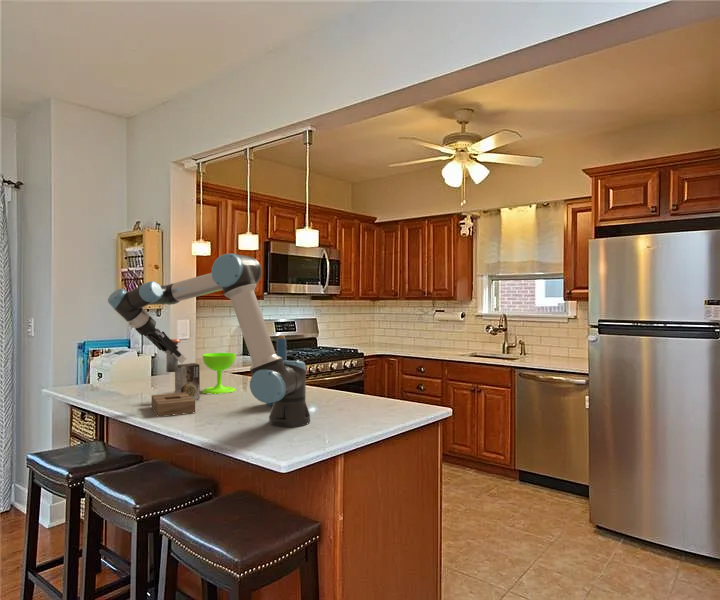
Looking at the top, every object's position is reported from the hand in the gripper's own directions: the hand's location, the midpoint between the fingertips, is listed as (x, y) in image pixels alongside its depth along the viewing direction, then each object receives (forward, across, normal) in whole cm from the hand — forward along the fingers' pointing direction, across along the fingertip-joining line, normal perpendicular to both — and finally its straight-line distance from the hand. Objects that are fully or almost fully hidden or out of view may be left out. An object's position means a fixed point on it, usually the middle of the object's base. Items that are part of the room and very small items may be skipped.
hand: (180, 360), depth 221 cm
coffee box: (+22, -14, -6) cm, 27 cm away
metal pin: (0, 0, -6) cm, 6 cm away
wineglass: (+38, -22, +9) cm, 45 cm away
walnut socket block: (+12, 0, -17) cm, 20 cm away
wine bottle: (+38, +25, +9) cm, 46 cm away
